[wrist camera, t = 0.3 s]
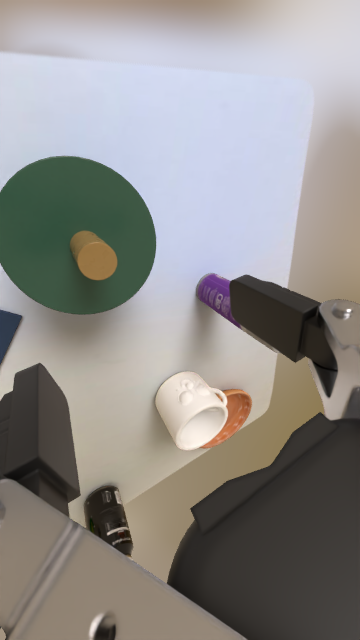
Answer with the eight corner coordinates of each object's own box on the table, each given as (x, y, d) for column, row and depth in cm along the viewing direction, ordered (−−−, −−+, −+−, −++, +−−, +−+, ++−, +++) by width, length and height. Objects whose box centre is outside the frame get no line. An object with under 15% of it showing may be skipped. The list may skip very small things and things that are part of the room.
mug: (211, 355, 44) (244, 387, 37) (207, 394, 49) (235, 429, 42) (151, 374, 39) (175, 416, 32) (153, 416, 44) (175, 460, 37)
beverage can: (93, 510, 48) (106, 586, 39) (75, 500, 44) (85, 583, 35) (123, 488, 50) (142, 557, 41) (108, 477, 46) (125, 551, 37)
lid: (-32, 276, 16) (-59, 310, 12) (33, 111, 14) (29, 78, 10) (115, 325, 23) (133, 357, 18) (173, 218, 21) (208, 227, 16)
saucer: (180, 406, 46) (188, 417, 44) (244, 372, 52) (254, 380, 49) (189, 448, 55) (195, 460, 53) (242, 415, 60) (251, 425, 58)
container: (193, 280, 34) (271, 328, 23) (219, 268, 36) (305, 307, 24) (199, 306, 37) (270, 361, 25) (223, 294, 38) (302, 341, 27)
